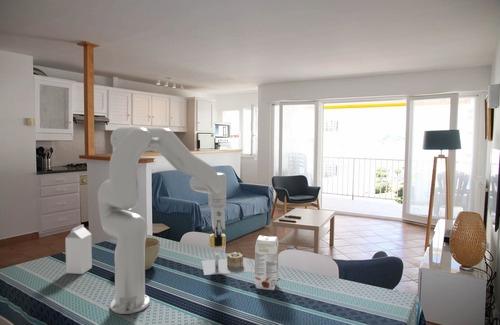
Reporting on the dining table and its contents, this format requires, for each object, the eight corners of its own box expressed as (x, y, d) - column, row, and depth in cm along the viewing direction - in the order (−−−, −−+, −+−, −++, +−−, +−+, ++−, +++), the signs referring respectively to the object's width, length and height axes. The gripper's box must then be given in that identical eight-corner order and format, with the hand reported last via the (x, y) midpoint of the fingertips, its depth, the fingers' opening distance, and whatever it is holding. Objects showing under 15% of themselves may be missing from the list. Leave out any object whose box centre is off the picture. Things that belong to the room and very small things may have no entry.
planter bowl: (154, 274, 139) (153, 249, 138) (115, 273, 140) (114, 248, 139) (164, 260, 155) (164, 237, 154) (129, 259, 156) (129, 236, 155)
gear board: (252, 275, 140) (252, 258, 140) (204, 278, 136) (204, 261, 136) (245, 261, 156) (245, 246, 155) (201, 263, 152) (201, 248, 151)
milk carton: (92, 267, 145) (91, 224, 144) (82, 274, 138) (81, 229, 137) (76, 266, 146) (75, 223, 145) (66, 273, 139) (64, 228, 138)
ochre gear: (226, 247, 142) (226, 237, 142) (210, 248, 141) (210, 238, 140) (224, 242, 149) (224, 232, 148) (208, 243, 147) (208, 233, 147)
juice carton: (276, 291, 126) (277, 241, 124) (253, 289, 127) (254, 240, 126) (278, 283, 133) (279, 235, 132) (256, 281, 135) (257, 234, 133)
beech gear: (245, 266, 146) (246, 256, 146) (232, 269, 142) (232, 259, 142) (237, 261, 151) (237, 251, 151) (224, 264, 148) (224, 254, 147)
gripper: (229, 206, 135) (228, 249, 137) (223, 197, 152) (223, 236, 154) (210, 206, 134) (210, 250, 135) (206, 198, 151) (206, 237, 152)
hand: (217, 242), depth 144 cm, fingers closed on ochre gear, 6 cm apart
